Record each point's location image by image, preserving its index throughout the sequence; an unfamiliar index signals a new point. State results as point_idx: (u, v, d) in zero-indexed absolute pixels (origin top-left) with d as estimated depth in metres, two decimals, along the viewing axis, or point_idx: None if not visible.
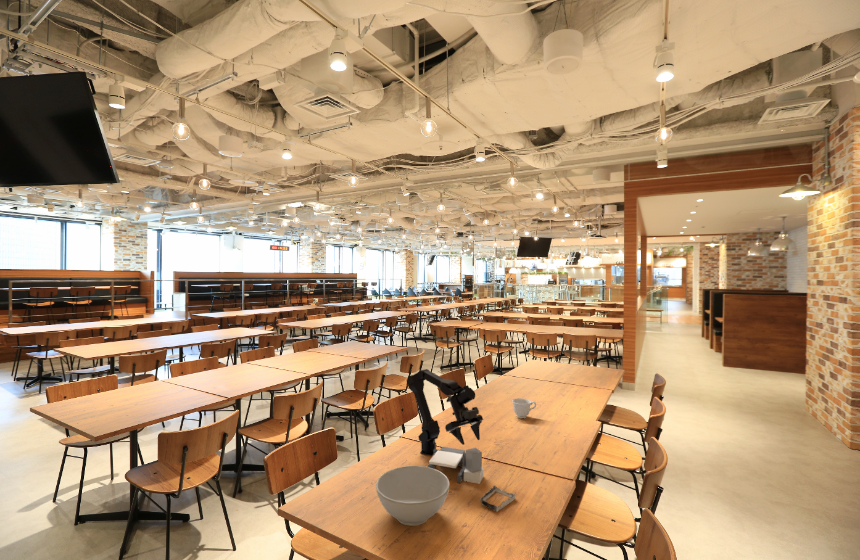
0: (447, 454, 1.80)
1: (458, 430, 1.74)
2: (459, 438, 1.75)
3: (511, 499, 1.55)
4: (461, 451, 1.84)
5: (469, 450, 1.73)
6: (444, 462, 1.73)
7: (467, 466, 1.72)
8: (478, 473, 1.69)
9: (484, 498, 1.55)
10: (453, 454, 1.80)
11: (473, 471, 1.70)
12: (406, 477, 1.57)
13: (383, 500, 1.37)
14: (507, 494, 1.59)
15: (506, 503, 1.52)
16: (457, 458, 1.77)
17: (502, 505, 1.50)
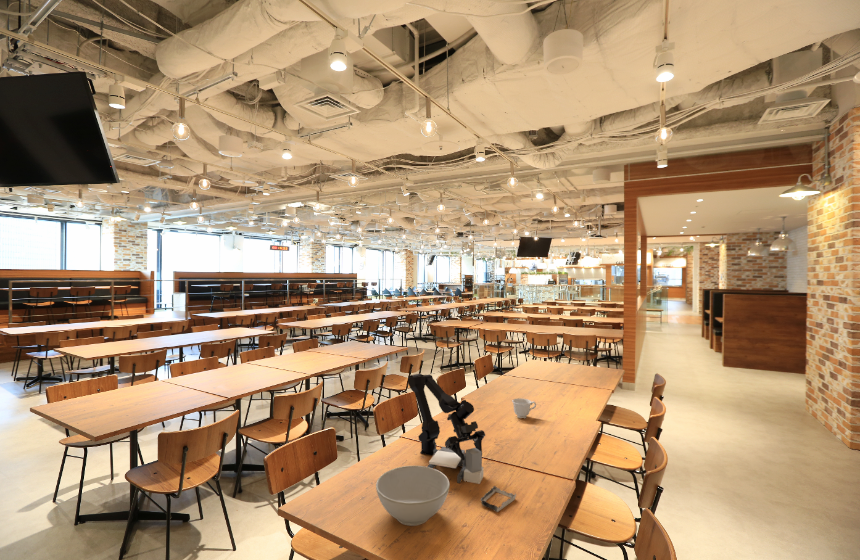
0: (447, 454, 1.80)
1: (457, 445, 1.73)
2: (459, 454, 1.72)
3: (511, 499, 1.55)
4: None
5: (469, 450, 1.73)
6: (444, 462, 1.73)
7: (467, 466, 1.72)
8: (478, 473, 1.69)
9: (484, 498, 1.55)
10: (453, 454, 1.80)
11: (473, 471, 1.70)
12: (406, 477, 1.57)
13: (383, 500, 1.37)
14: (507, 494, 1.59)
15: (506, 503, 1.52)
16: (457, 458, 1.77)
17: (502, 505, 1.50)
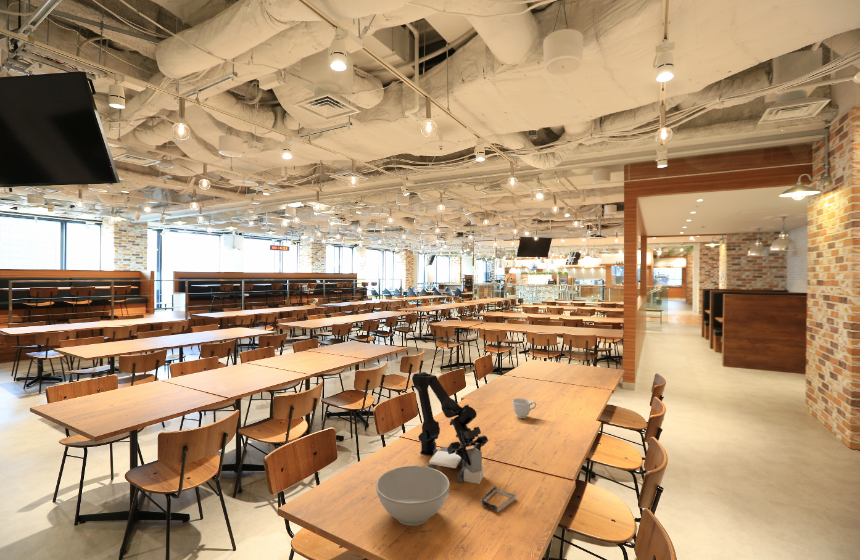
0: (447, 454, 1.80)
1: (463, 450, 1.72)
2: (465, 459, 1.71)
3: (512, 499, 1.55)
4: None
5: (469, 450, 1.73)
6: (444, 462, 1.73)
7: (467, 466, 1.72)
8: (478, 473, 1.69)
9: (485, 498, 1.55)
10: (453, 454, 1.80)
11: (473, 471, 1.70)
12: (406, 477, 1.57)
13: (383, 500, 1.37)
14: (507, 494, 1.59)
15: (507, 503, 1.52)
16: (457, 458, 1.77)
17: (503, 505, 1.50)
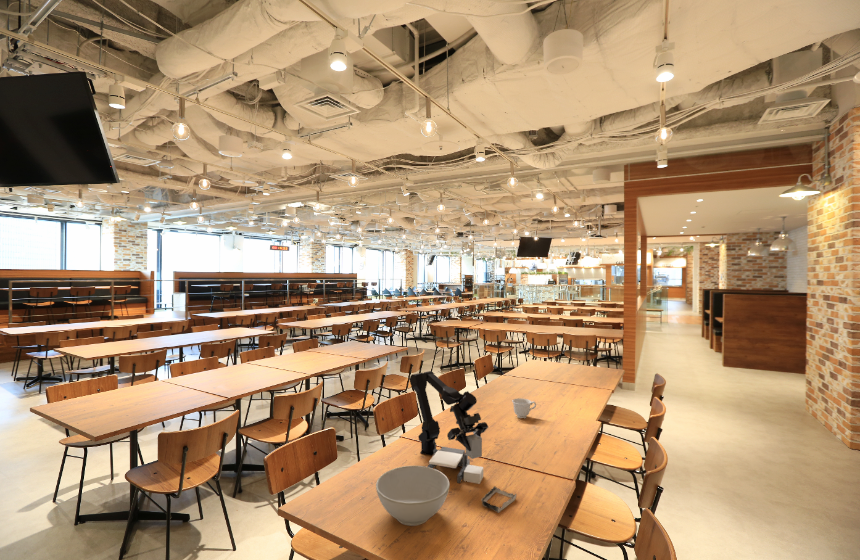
0: (447, 454, 1.80)
1: (463, 436, 1.72)
2: (465, 445, 1.71)
3: (512, 499, 1.54)
4: (461, 451, 1.84)
5: (469, 436, 1.73)
6: (444, 462, 1.73)
7: (467, 452, 1.72)
8: (478, 473, 1.69)
9: (485, 499, 1.55)
10: (453, 454, 1.80)
11: (473, 457, 1.70)
12: (406, 477, 1.57)
13: (383, 500, 1.37)
14: (507, 494, 1.59)
15: (507, 504, 1.52)
16: (457, 458, 1.77)
17: (503, 506, 1.50)
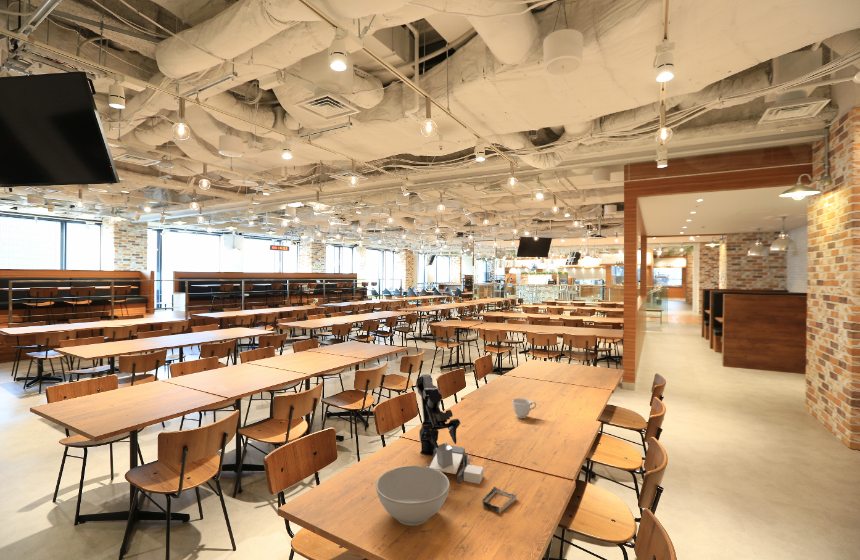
0: None
1: (431, 433, 1.74)
2: (433, 441, 1.73)
3: (512, 500, 1.54)
4: (461, 450, 1.84)
5: (439, 447, 1.74)
6: None
7: (438, 461, 1.75)
8: (478, 473, 1.69)
9: (485, 499, 1.54)
10: (453, 455, 1.80)
11: (444, 467, 1.72)
12: (406, 477, 1.57)
13: (383, 500, 1.37)
14: (508, 495, 1.59)
15: (508, 504, 1.52)
16: (457, 460, 1.77)
17: (504, 506, 1.50)
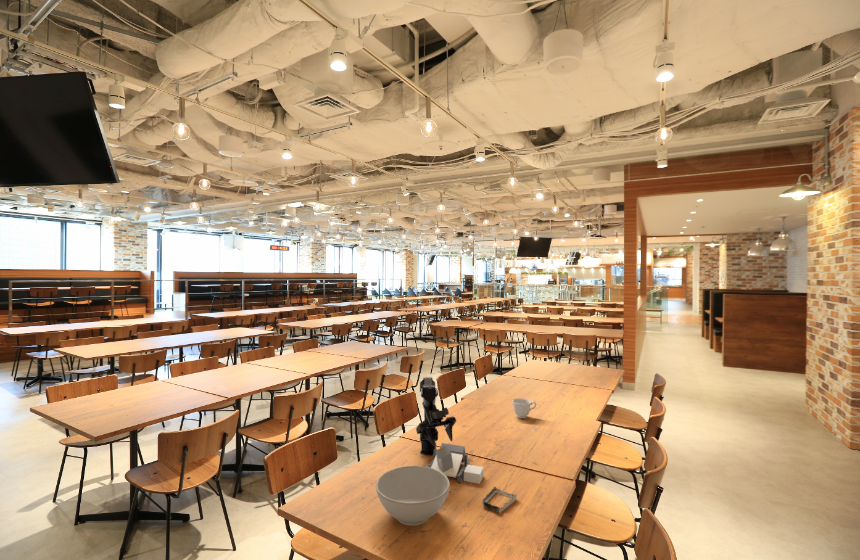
0: None
1: (427, 431, 1.77)
2: (429, 439, 1.77)
3: (513, 500, 1.54)
4: (461, 449, 1.84)
5: (439, 451, 1.73)
6: None
7: (438, 464, 1.75)
8: (478, 473, 1.69)
9: (486, 500, 1.54)
10: (453, 456, 1.80)
11: (444, 470, 1.73)
12: (406, 477, 1.57)
13: (383, 500, 1.37)
14: (508, 495, 1.58)
15: (508, 504, 1.52)
16: (457, 462, 1.77)
17: (504, 506, 1.50)
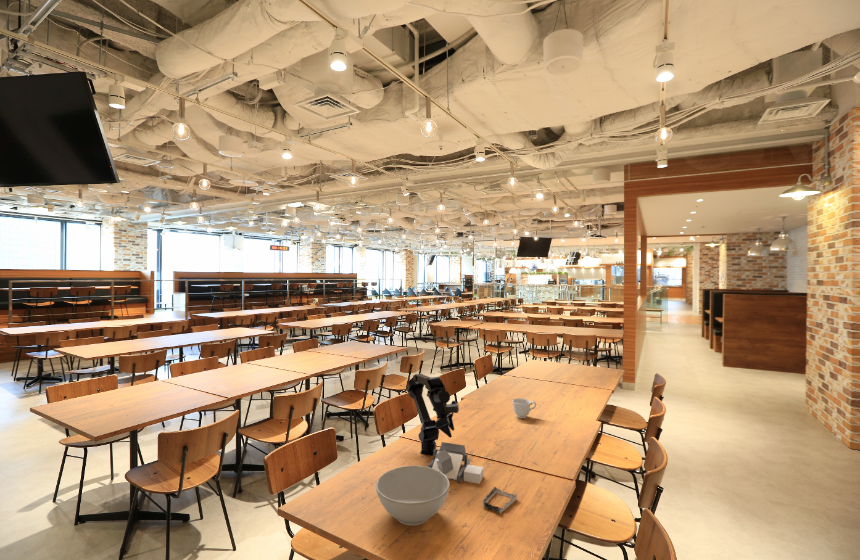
0: None
1: (448, 425, 1.84)
2: (447, 432, 1.85)
3: (513, 500, 1.54)
4: (461, 448, 1.84)
5: (438, 455, 1.73)
6: None
7: (439, 467, 1.75)
8: (478, 473, 1.69)
9: (486, 500, 1.54)
10: (453, 456, 1.80)
11: (445, 473, 1.73)
12: (406, 477, 1.57)
13: (383, 500, 1.37)
14: (508, 495, 1.58)
15: (508, 504, 1.52)
16: (457, 463, 1.77)
17: (505, 506, 1.50)
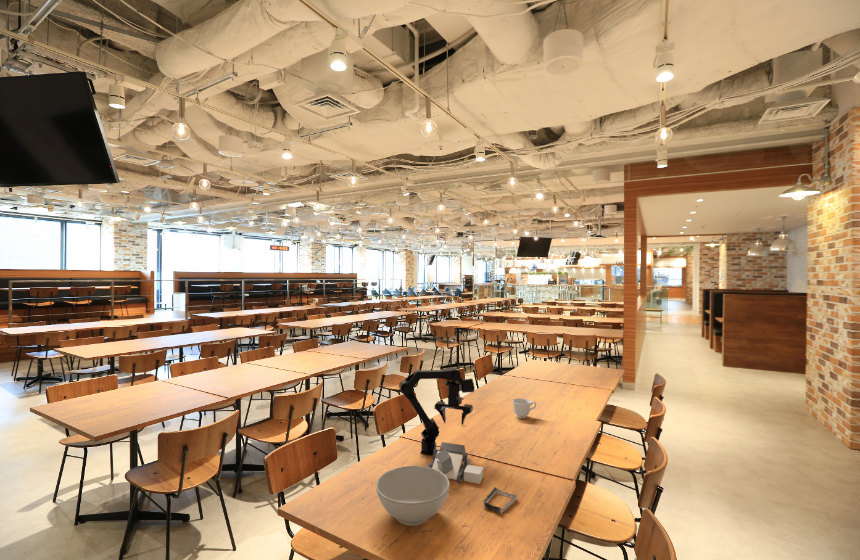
0: None
1: None
2: (464, 419, 2.00)
3: (513, 500, 1.54)
4: (461, 448, 1.84)
5: (438, 455, 1.73)
6: None
7: (439, 467, 1.75)
8: (478, 473, 1.69)
9: (486, 500, 1.54)
10: (453, 456, 1.80)
11: (445, 473, 1.73)
12: (406, 477, 1.57)
13: (383, 500, 1.37)
14: (508, 495, 1.58)
15: (509, 504, 1.51)
16: (457, 463, 1.77)
17: (505, 507, 1.49)
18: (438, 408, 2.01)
